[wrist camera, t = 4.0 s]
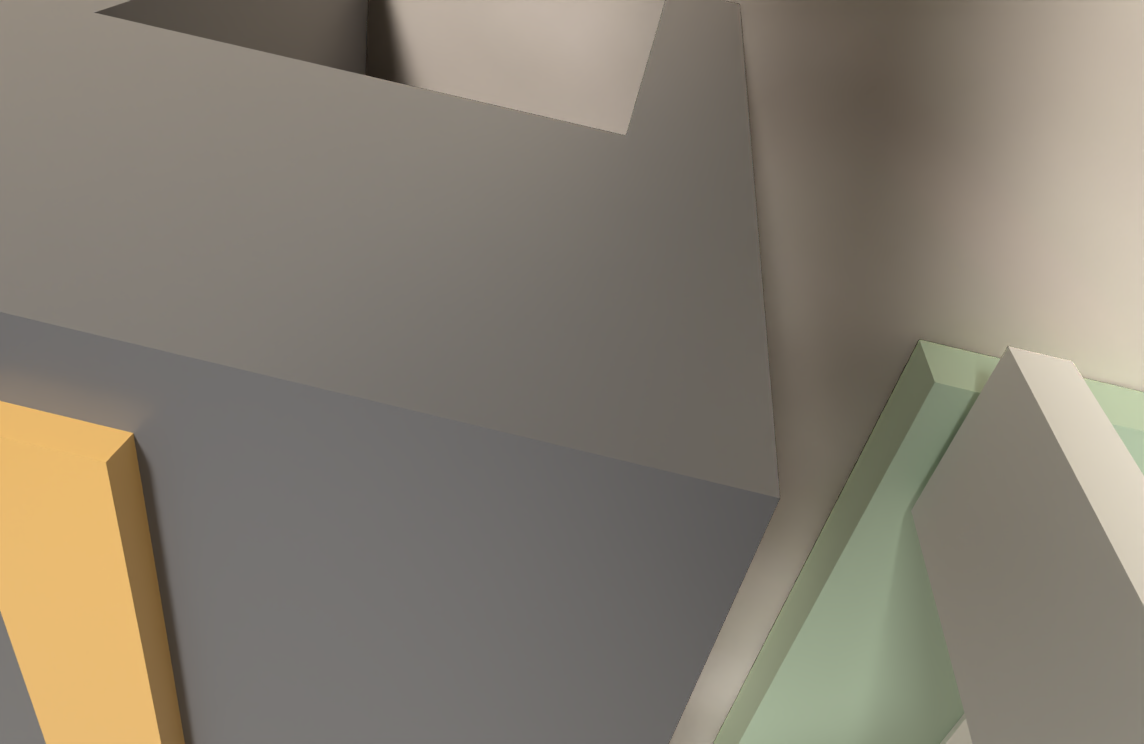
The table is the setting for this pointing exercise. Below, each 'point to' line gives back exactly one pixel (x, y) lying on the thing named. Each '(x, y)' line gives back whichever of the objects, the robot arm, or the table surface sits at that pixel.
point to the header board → (882, 583)
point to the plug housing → (366, 386)
